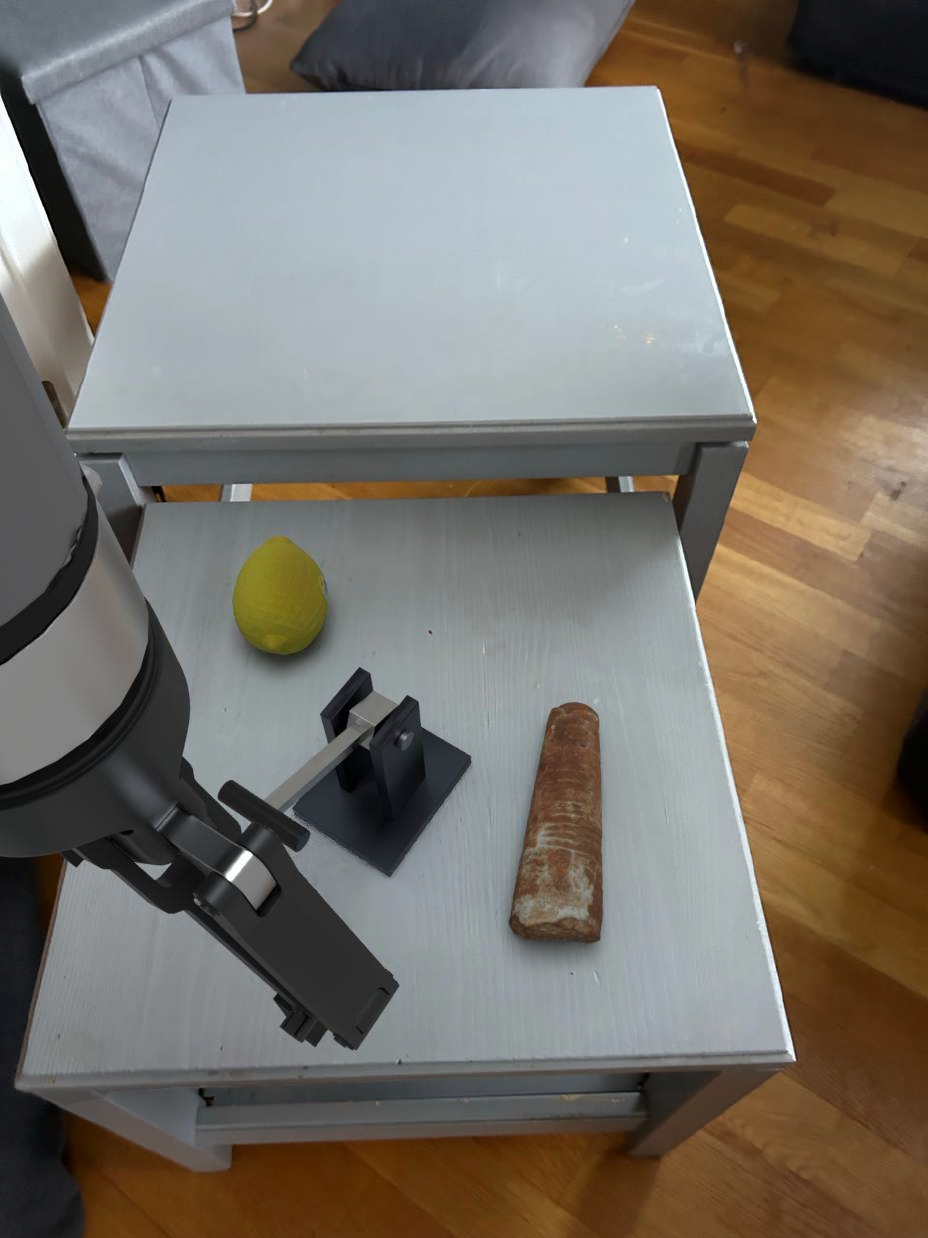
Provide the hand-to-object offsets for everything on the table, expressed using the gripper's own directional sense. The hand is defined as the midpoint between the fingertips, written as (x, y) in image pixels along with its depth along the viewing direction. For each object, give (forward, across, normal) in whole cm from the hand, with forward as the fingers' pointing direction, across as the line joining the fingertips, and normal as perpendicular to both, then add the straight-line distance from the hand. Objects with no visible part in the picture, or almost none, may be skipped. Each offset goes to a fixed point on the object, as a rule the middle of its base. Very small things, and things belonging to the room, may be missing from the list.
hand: (204, 921), depth 41 cm
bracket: (+27, +6, -18) cm, 33 cm away
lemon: (+27, +22, -26) cm, 43 cm away
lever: (+15, +6, -13) cm, 20 cm away
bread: (+27, -7, -22) cm, 36 cm away
